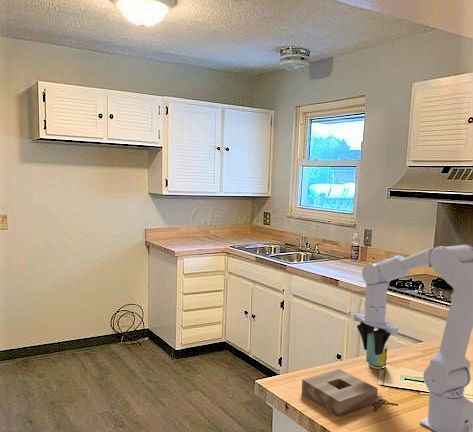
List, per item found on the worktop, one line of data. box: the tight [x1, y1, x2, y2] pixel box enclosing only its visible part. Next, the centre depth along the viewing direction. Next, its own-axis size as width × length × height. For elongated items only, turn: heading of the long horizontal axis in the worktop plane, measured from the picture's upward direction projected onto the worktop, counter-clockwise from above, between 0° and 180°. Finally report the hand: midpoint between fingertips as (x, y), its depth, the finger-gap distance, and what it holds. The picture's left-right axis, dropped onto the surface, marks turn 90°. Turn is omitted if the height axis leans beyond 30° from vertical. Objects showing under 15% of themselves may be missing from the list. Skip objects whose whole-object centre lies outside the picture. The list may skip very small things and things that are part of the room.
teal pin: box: [365, 332, 379, 364], centre depth 130 cm, size 4×4×8 cm
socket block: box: [301, 368, 379, 417], centre depth 123 cm, size 14×14×4 cm
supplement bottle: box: [367, 342, 388, 370], centre depth 144 cm, size 5×5×10 cm
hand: (373, 351), depth 131 cm, fingers closed on teal pin, 3 cm apart
